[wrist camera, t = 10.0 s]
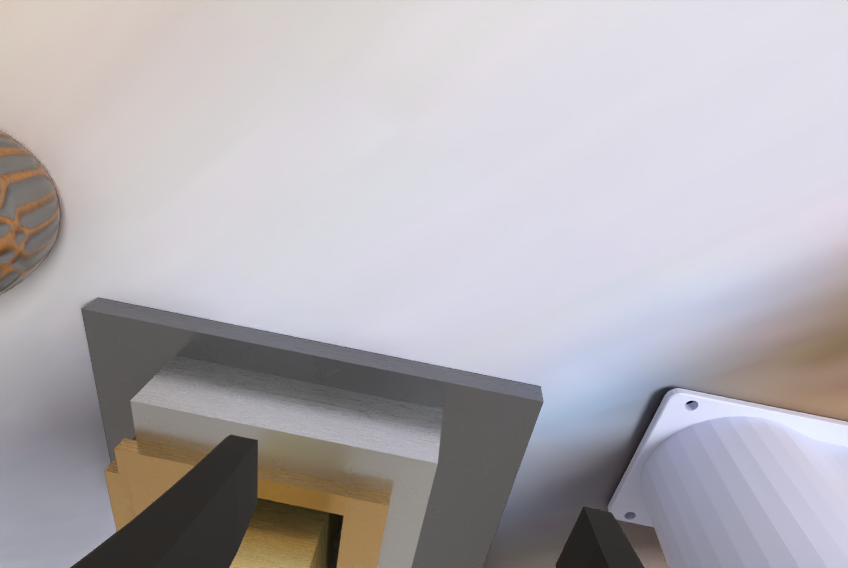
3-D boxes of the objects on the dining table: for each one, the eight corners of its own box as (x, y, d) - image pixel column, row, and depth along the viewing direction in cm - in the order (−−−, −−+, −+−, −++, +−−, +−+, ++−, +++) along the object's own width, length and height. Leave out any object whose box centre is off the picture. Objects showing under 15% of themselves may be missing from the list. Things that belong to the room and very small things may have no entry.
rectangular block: (344, 458, 23) (288, 631, 16) (341, 517, 25) (289, 693, 18) (258, 444, 23) (167, 608, 16) (262, 503, 25) (181, 672, 18)
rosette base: (540, 386, 21) (555, 469, 17) (469, 586, 28) (467, 680, 24) (97, 297, 21) (6, 357, 17) (135, 516, 28) (76, 597, 24)
